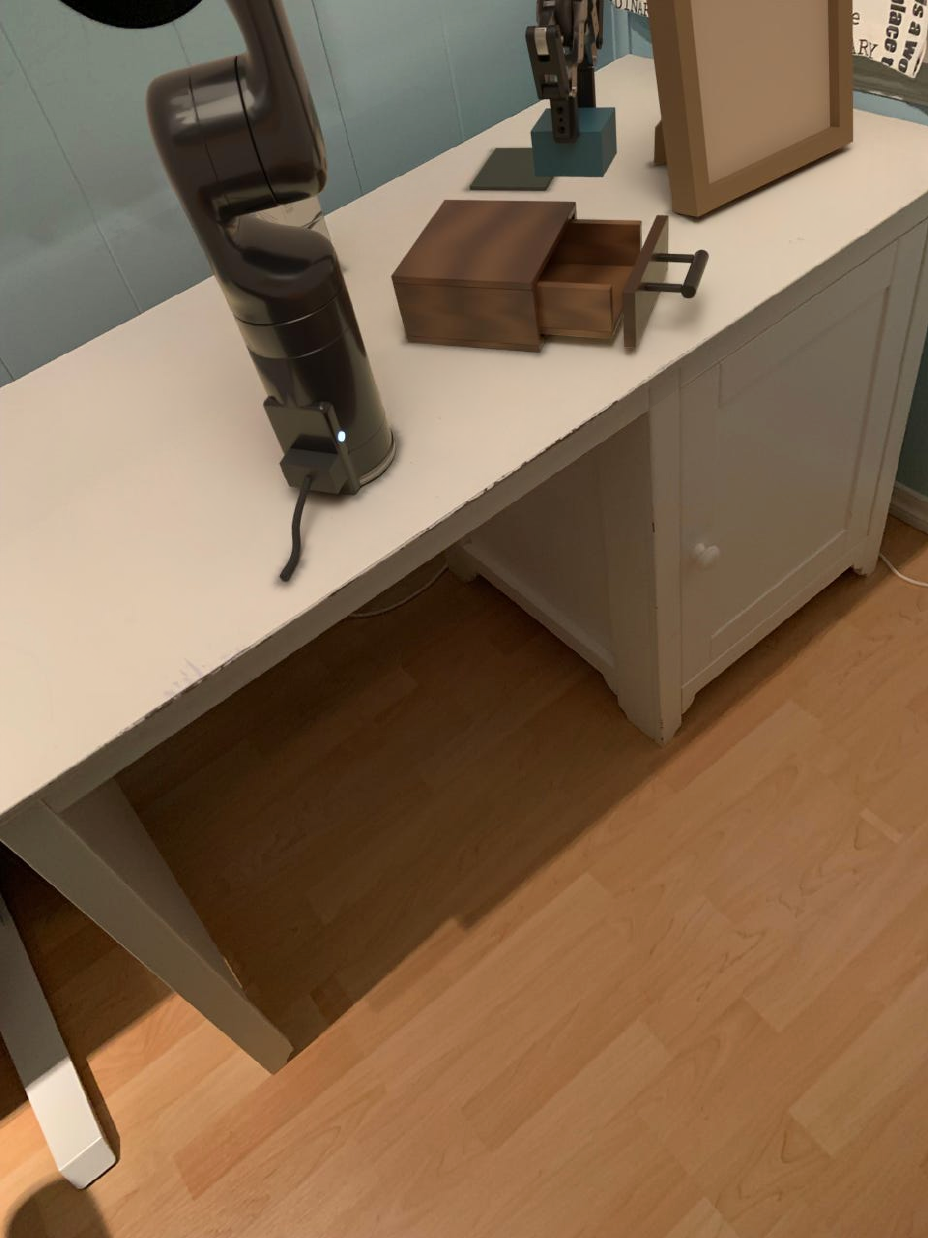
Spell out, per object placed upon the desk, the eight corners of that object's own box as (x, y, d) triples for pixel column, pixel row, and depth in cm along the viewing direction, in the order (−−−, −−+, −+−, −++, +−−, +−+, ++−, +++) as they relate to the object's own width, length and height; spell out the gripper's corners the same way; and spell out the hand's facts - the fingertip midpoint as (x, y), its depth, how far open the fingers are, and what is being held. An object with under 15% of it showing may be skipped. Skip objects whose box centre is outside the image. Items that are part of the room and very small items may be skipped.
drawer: (714, 271, 88) (717, 215, 84) (686, 351, 81) (687, 295, 77) (543, 264, 95) (537, 212, 90) (503, 338, 88) (494, 285, 83)
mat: (545, 190, 107) (545, 186, 106) (469, 189, 110) (469, 186, 110) (569, 150, 112) (568, 147, 112) (496, 150, 115) (495, 147, 115)
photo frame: (851, 150, 100) (897, -128, 81) (697, 225, 96) (707, -49, 77) (762, 113, 109) (784, -145, 90) (617, 180, 105) (608, -75, 86)
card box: (603, 177, 78) (601, 130, 75) (534, 176, 81) (530, 131, 78) (617, 152, 81) (615, 106, 78) (550, 152, 83) (545, 107, 80)
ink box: (343, 270, 103) (312, 169, 94) (308, 290, 102) (274, 189, 92) (305, 248, 108) (272, 150, 99) (271, 267, 106) (235, 169, 97)
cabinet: (581, 270, 94) (576, 201, 89) (540, 352, 87) (531, 282, 81) (457, 264, 99) (444, 199, 94) (407, 342, 92) (390, 275, 86)
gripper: (578, -85, 60) (593, 167, 73) (633, -149, 67) (637, 90, 81) (477, -75, 62) (509, 167, 76) (541, -138, 70) (559, 92, 83)
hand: (575, 126), depth 78 cm, fingers closed on card box, 4 cm apart
